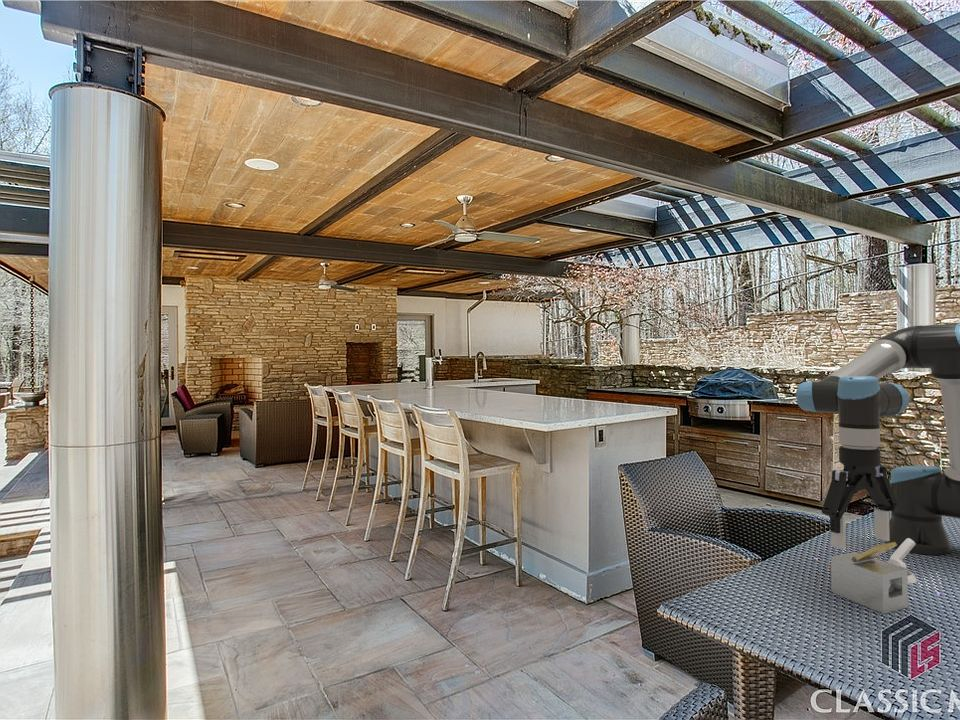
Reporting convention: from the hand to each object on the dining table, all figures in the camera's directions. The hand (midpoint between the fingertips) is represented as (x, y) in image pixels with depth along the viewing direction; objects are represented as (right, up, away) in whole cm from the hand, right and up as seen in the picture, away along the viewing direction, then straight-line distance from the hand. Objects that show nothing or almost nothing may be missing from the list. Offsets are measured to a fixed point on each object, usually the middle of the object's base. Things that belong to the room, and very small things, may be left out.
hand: (860, 543), depth 123 cm
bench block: (+6, -15, +6) cm, 17 cm away
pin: (+5, -12, +7) cm, 15 cm away
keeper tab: (+6, -4, +4) cm, 8 cm away
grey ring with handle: (+22, -15, +18) cm, 32 cm away
